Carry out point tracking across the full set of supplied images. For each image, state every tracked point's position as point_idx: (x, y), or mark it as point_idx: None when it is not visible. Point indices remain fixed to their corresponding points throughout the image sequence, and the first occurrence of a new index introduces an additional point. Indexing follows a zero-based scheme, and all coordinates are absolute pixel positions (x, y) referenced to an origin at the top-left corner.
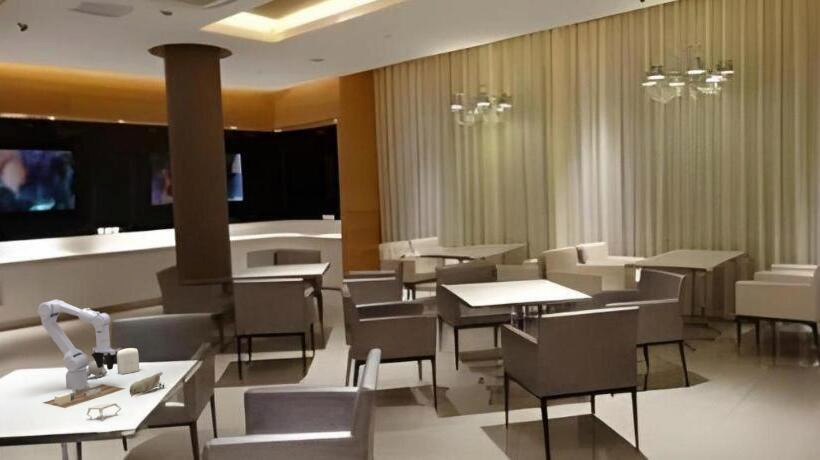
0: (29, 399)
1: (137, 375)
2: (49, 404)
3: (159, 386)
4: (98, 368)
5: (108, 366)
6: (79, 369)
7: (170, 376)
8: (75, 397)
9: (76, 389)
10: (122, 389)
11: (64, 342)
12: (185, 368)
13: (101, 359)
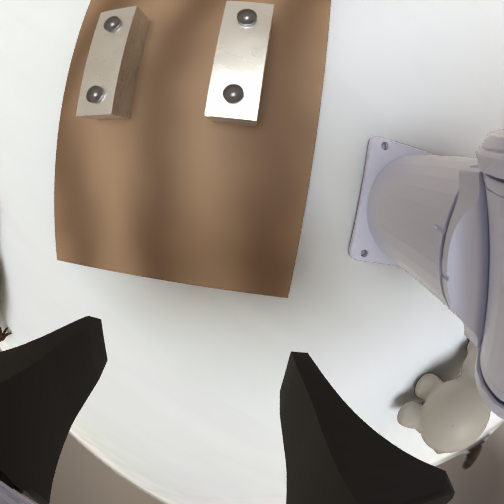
0: (478, 15)
1: (253, 449)
2: None
3: (5, 329)
4: (435, 413)
5: (58, 331)
6: (472, 201)
7: (106, 440)
8: (215, 6)
9: (239, 10)
10: (56, 241)
11: None
12: (153, 489)
13: (293, 466)
